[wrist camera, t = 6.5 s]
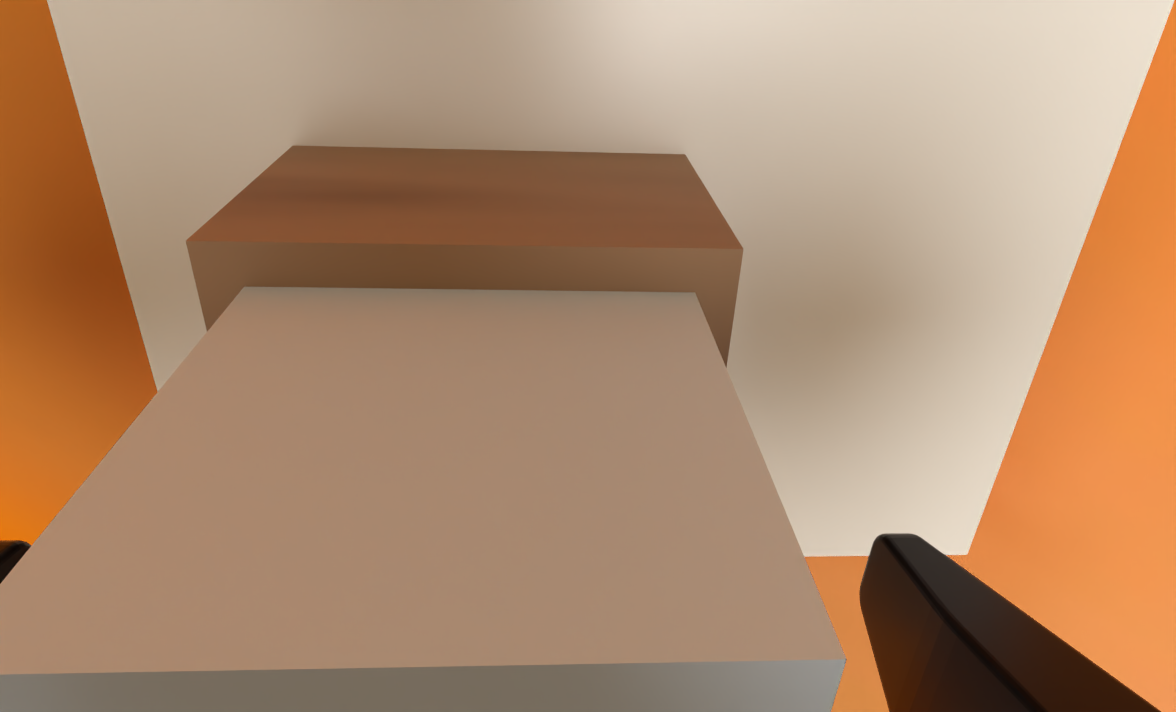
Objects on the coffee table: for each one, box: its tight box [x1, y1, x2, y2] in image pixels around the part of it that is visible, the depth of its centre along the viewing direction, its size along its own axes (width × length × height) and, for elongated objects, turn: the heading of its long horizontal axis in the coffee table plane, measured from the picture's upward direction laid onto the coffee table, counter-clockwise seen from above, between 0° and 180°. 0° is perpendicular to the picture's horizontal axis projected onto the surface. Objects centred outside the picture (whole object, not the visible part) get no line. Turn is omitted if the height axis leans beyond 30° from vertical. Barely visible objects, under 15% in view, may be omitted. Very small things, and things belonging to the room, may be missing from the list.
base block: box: [186, 146, 744, 368], centre depth 12 cm, size 6×6×4 cm
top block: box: [0, 287, 846, 712], centre depth 8 cm, size 5×5×5 cm
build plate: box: [47, 0, 1174, 556], centre depth 14 cm, size 11×16×1 cm
